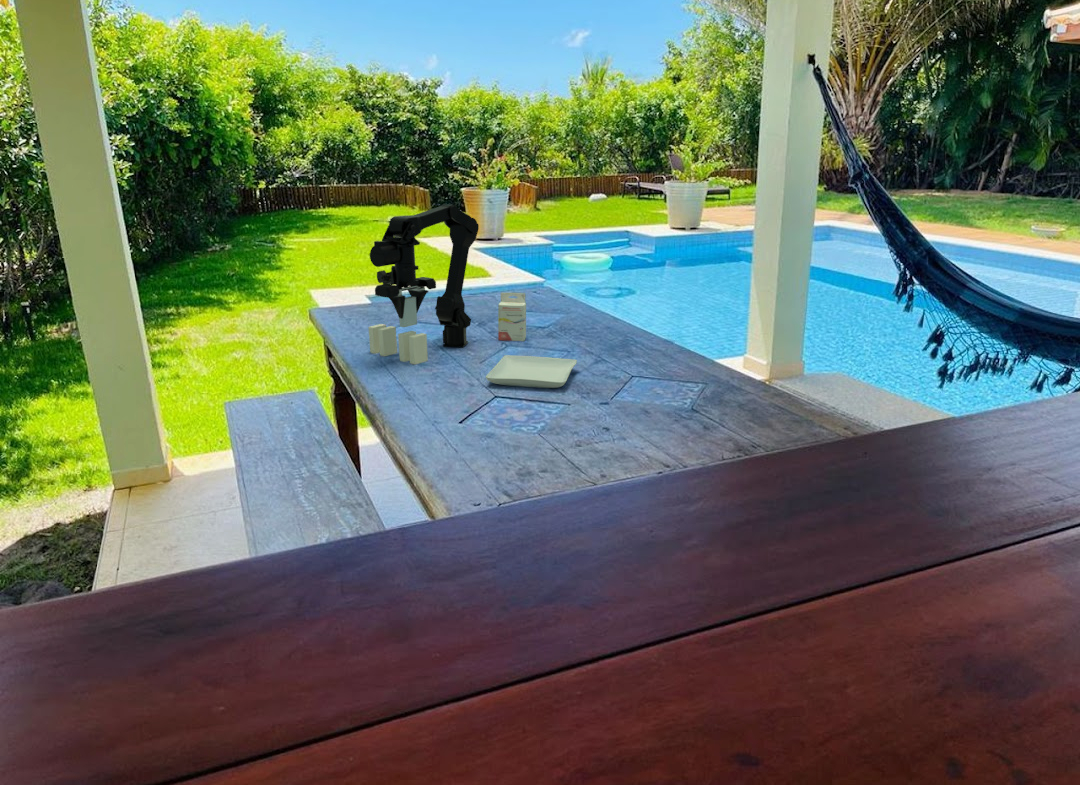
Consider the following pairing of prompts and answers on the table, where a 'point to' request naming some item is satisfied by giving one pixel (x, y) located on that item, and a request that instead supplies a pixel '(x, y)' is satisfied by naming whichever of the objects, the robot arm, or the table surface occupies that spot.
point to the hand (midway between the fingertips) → (407, 316)
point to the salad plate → (531, 371)
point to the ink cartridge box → (512, 317)
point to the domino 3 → (409, 312)
